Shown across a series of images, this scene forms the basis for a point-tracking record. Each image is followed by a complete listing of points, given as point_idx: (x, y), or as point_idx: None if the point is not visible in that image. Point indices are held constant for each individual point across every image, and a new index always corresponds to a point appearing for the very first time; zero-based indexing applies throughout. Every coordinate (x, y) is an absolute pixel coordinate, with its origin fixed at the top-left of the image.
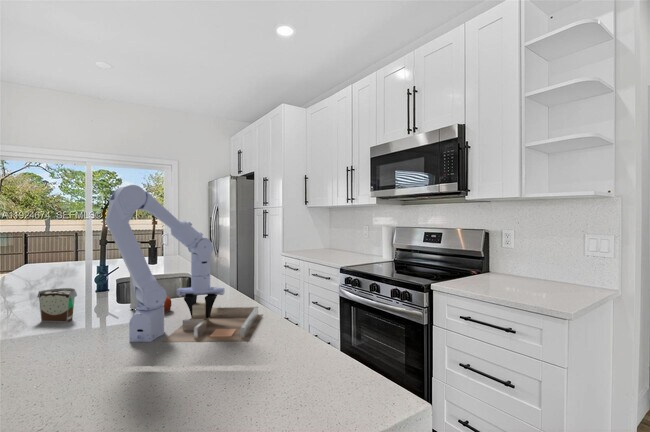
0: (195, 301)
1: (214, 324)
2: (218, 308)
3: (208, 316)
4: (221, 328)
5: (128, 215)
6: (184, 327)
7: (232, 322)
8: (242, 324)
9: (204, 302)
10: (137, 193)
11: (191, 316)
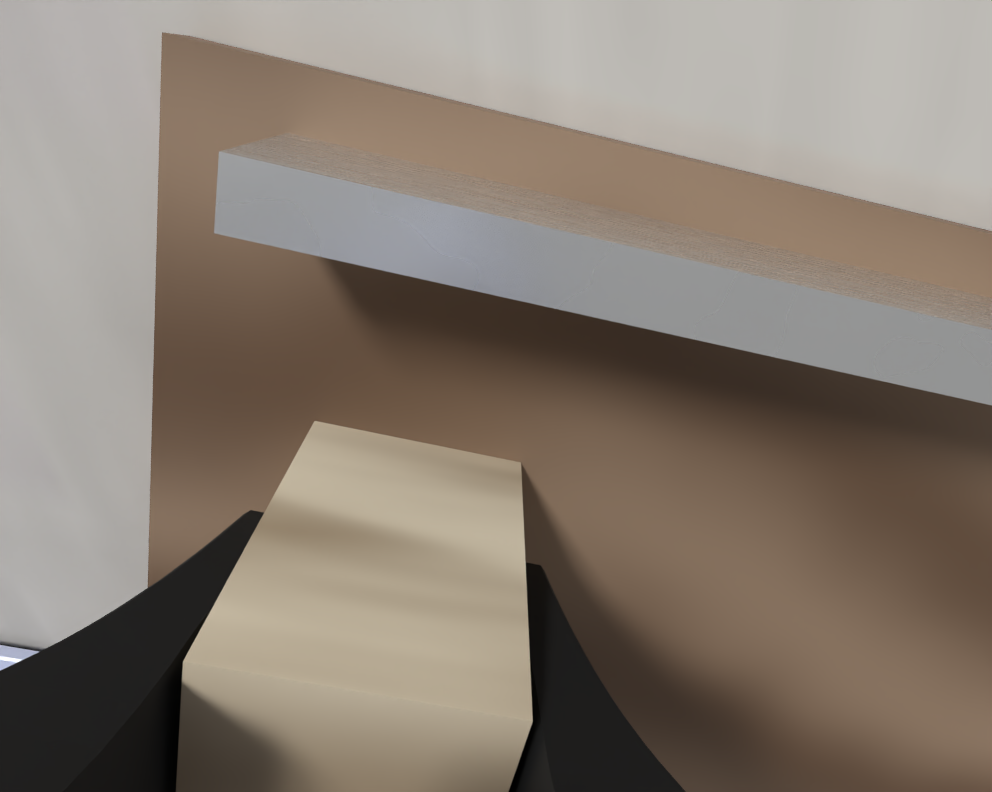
0: (146, 747)
1: (607, 644)
2: (718, 338)
3: None
4: (693, 778)
5: None
6: None
7: (862, 623)
8: (972, 715)
9: (404, 725)
10: None
11: None
